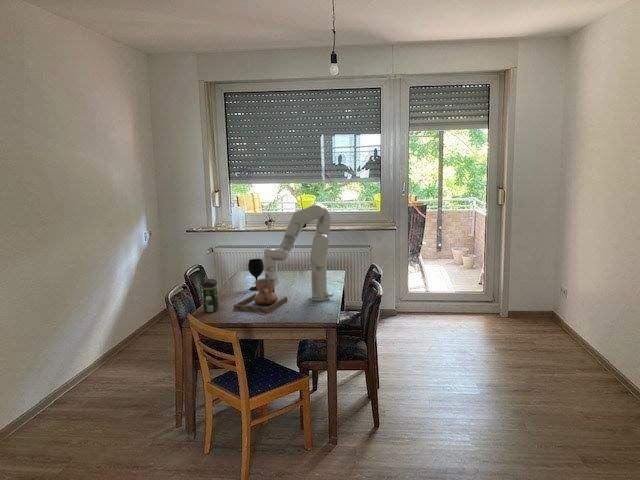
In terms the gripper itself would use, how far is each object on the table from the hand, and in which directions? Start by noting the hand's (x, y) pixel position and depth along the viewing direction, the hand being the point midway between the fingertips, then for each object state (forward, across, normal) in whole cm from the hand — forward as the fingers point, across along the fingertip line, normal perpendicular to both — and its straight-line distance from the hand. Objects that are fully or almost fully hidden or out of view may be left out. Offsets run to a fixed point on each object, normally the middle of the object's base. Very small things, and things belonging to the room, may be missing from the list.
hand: (271, 296), depth 313 cm
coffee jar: (+2, -32, +24) cm, 40 cm away
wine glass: (+2, +20, +22) cm, 30 cm away
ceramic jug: (+2, -9, -1) cm, 10 cm away
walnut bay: (+2, -14, 0) cm, 14 cm away
